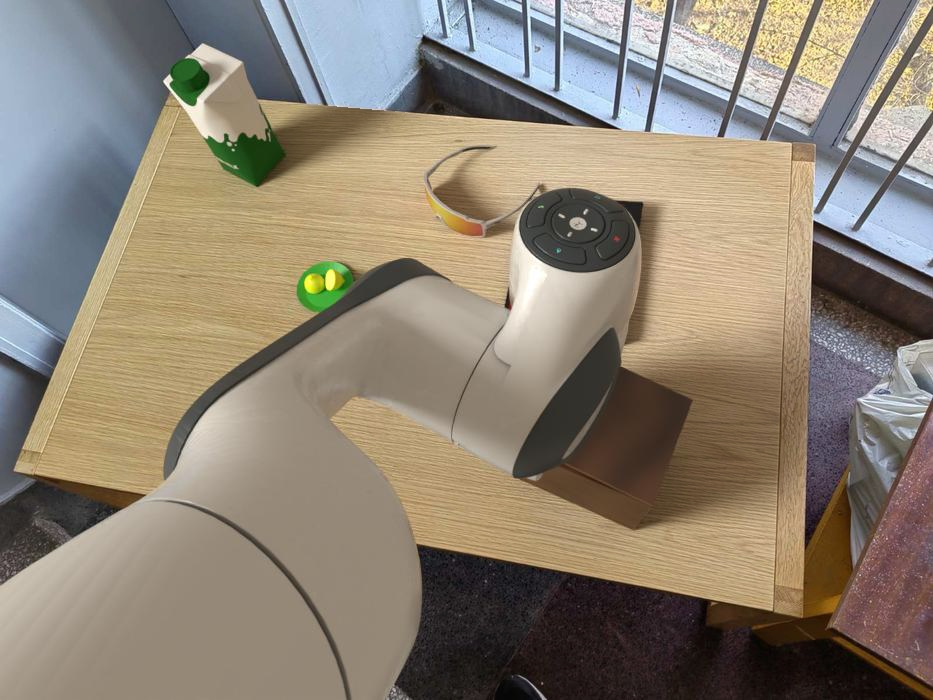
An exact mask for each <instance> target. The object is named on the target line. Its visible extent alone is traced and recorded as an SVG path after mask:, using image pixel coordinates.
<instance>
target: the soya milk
mask: <svg viewBox="0 0 933 700" xmlns="http://www.w3.org/2000/svg"><path fill="white" fill-rule="evenodd" d="M244 64H245V63H244V62H243V61H241V60H240V59H237V58H235V57H233V56H231V55H229V54H227V53H225V52H223V51H221V50H218V49H216V48H214V47H212V46H210V45H208V44H206V43H204V42H203V43H201V44H200V45H199V46H198V47H197V48H196V49H195V50H194V51H193V52H192V53H190V54H188V55H187V56H185V58H181V59H179V60H178V61H176V62H175V63H174V64H173V65H171V67H170V70H169V74H168V75H167V76H166V77H165V78H164V80H162V81H163V84H164V85H165V86H166V87H167V89H168V90H169V91H170V93H171V94H172V95H173V97H174V98H175V99H176V100H177V102H178V103H179V105H181V107H182V108H183V109H184V110H185V112H186V113H187V115H188V116H189V118H190V120H191V121H192V123H193V124H194V125H195V128H196V129H197V131H198V132H199V133H200V135H201V136H202V138H203V140H204V141H205V143H206V145H207V147H209V149H210V151H211V152H212V154H213V155H214V157H215V158H216V160H217V161H218V163H219V165H220V166H221V167H222V169H223V170H224V171H226V172H227V173H229V174H232V175H233V176H235V177H236V178H238V179H241V180H242V181H244V182H246V183H248V184H250V185H251V186H254V187H255V188H258V186H259V185H260V184H261V183H262V182H263V180H264V179H266V177H267V176H268V175H269V174H270V173H271V172H272V170H273V169H274V168H275V167H276V166H277V165H278V164H279V163H280V162H281V161H282V160H283V159H284V158H285V156H286V152H285V150H284V148H283V146H282V145H281V143H280V141H279V139H278V137H277V135H276V133H275V132H274V129H273V127H272V126H271V123H270V122H269V120H268V118H267V116H266V113H265V112H264V109H263V107H262V106H261V104H260V101H259V99H258V98H257V96H256V94H255V92H254V89H253V87H252V86H251V83H250V82H249V79H248V76H247V72H246V68H245V65H244Z"/></svg>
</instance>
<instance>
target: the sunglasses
mask: <svg viewBox="0 0 933 700" xmlns="http://www.w3.org/2000/svg"><path fill="white" fill-rule="evenodd" d="M493 148H494V146H493V145H484V144H482V145H470V146H464V147H461V148H459V149H457V150H455V151H453V152H451V153H448V154H447V155H446V156H444V157H442V158H440V159H439V160H437V161H435V163H433V164H432V165H431V166H430V167H429V168H428V169H427V170H426V171H424V173H423V185H424V190H425V194H426V195H425V196H426V199H427V202H428V204H429V207H430V208H431V211H432V213H433V215H434V216H435V218H436V219H438V218H439V219H440V221H441V223H443V224H444V226H445V227H446V228H447V229H448V230H450V231H451V232H453V233H454V234H457V235H460V236H463V237H467V238H473V239H475V238H476V239H478V238H480V239H481V238H485V237H486V236H487V233H488V229H489V228H491V227H493V226H497V225H499V224H501V223H502V222H504V221H505V220H506V219H508V218H509V217H511V216H513V214H515V213H517V212H518V211H521V210H522V209H523V208H524V206H525V205H526V204H527V203H528V202H529V201H530V200H531V199H532V198H534V195H536V193H537V191H538V190H539V186H540V184H541V183H540V182H538V183H537V184H536V186H535V188H534V189H533V190H532V192H531V193H530V194H529V195H528V196H527V198H526V199H525V200H524V201H522V203H521V204H519V205H518V206H517V207H515V208H514V209H513V210H511V211H509V212H507V213H505V214H502V215H500V216H498V217H496V218H493V219H489V220H486V221H485V220H482V219H481V220H480V219H476V218H471V217H469V216H467V215H466V214H464V213H460V212H459V211H456V210H454V209H452V208H450V207H449V206H448V205H446V204H445V203H444V202H442V201H441V200H440V199H439V198H438V197H437V196H436V195H435V193H434V192H433V188H432V185H431V182H430V180H429V177H430V176H431V175H432V174H434V173H435V172H436V171H437V170H438V169H439V167H440V166H441V165H442V164H443V163H444V162H445V161H447V160H450V159H451V158H455V157H457V156H458V155H460V154H463V153H465V152H469V151H475V150H476V151H477V150H479V151H480V150H493Z"/></svg>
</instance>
